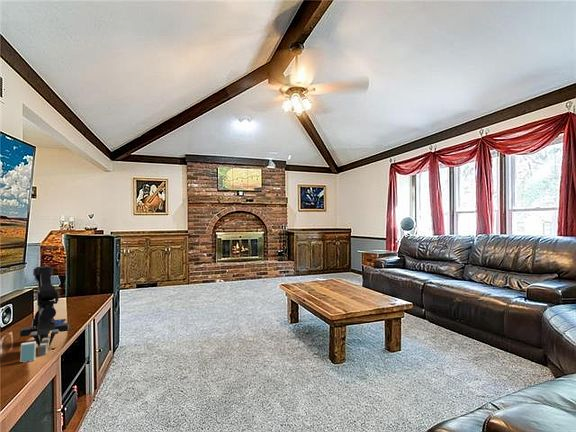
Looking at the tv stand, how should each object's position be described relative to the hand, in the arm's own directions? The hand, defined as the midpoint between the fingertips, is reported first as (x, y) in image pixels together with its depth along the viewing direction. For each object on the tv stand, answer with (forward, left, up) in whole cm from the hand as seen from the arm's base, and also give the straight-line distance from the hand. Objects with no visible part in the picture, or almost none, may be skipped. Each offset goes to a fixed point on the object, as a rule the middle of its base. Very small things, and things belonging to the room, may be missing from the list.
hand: (44, 347), depth 157 cm
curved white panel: (+2, 0, -1) cm, 2 cm away
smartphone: (-45, +1, -2) cm, 45 cm away
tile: (+13, -4, -1) cm, 14 cm away
